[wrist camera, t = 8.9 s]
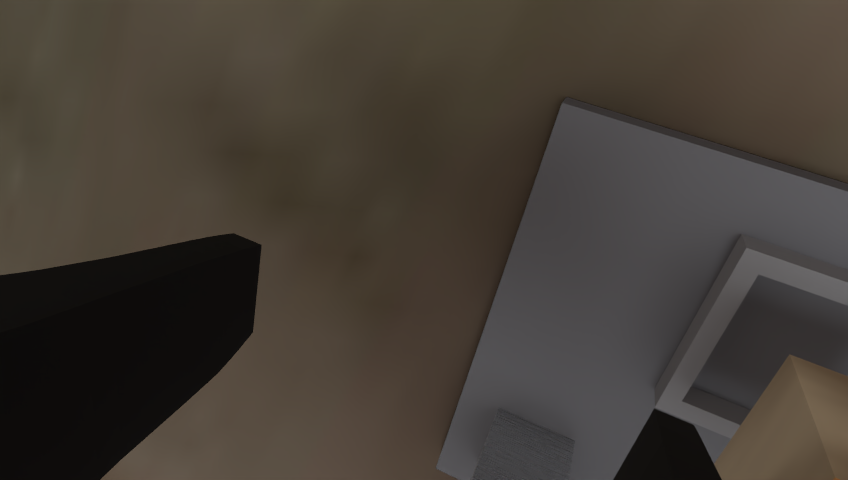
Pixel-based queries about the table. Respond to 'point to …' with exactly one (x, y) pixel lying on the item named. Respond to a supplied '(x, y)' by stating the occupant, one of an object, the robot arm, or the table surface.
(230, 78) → the table surface
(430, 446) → the table surface
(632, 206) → the base board
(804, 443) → the taped cardboard box
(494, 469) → the post
